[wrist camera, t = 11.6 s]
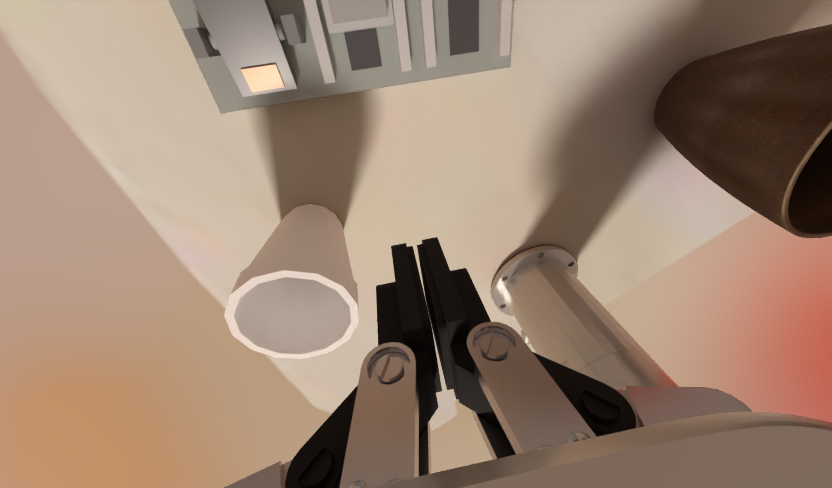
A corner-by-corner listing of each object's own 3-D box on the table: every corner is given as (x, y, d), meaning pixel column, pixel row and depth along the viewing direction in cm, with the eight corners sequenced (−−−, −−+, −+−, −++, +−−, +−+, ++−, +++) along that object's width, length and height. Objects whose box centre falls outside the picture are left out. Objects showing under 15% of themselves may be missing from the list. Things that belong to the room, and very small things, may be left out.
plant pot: (630, 190, 38) (775, 270, 25) (605, 80, 30) (802, 114, 17) (753, 115, 35) (990, 162, 22) (763, -29, 27) (1148, -90, 14)
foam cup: (287, 271, 36) (260, 369, 25) (249, 202, 30) (196, 290, 20) (366, 252, 36) (372, 341, 26) (342, 181, 31) (338, 257, 20)
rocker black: (301, 80, 24) (301, 88, 23) (241, 89, 23) (238, 98, 23) (258, -40, 18) (256, -35, 17) (179, -30, 18) (172, -24, 17)
